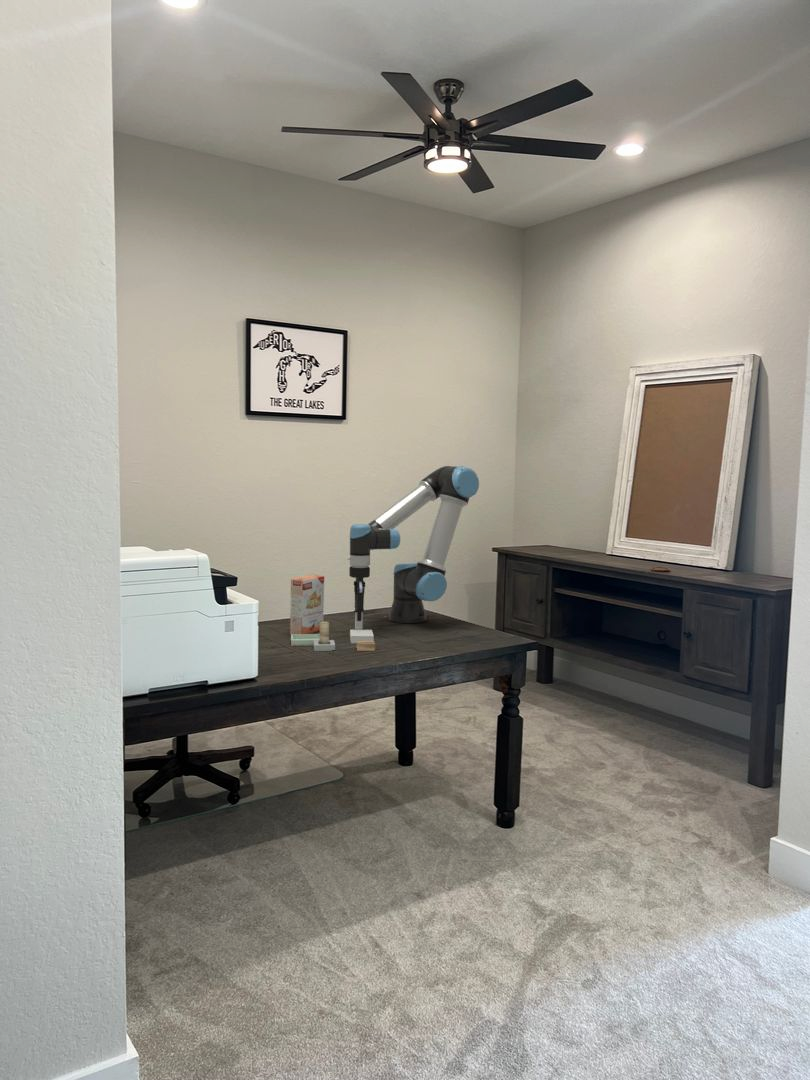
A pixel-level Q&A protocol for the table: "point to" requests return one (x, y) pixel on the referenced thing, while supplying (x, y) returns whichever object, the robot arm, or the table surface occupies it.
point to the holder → (324, 646)
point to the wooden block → (365, 645)
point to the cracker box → (306, 604)
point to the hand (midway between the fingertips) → (358, 628)
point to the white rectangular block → (361, 635)
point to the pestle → (324, 632)
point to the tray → (304, 639)
